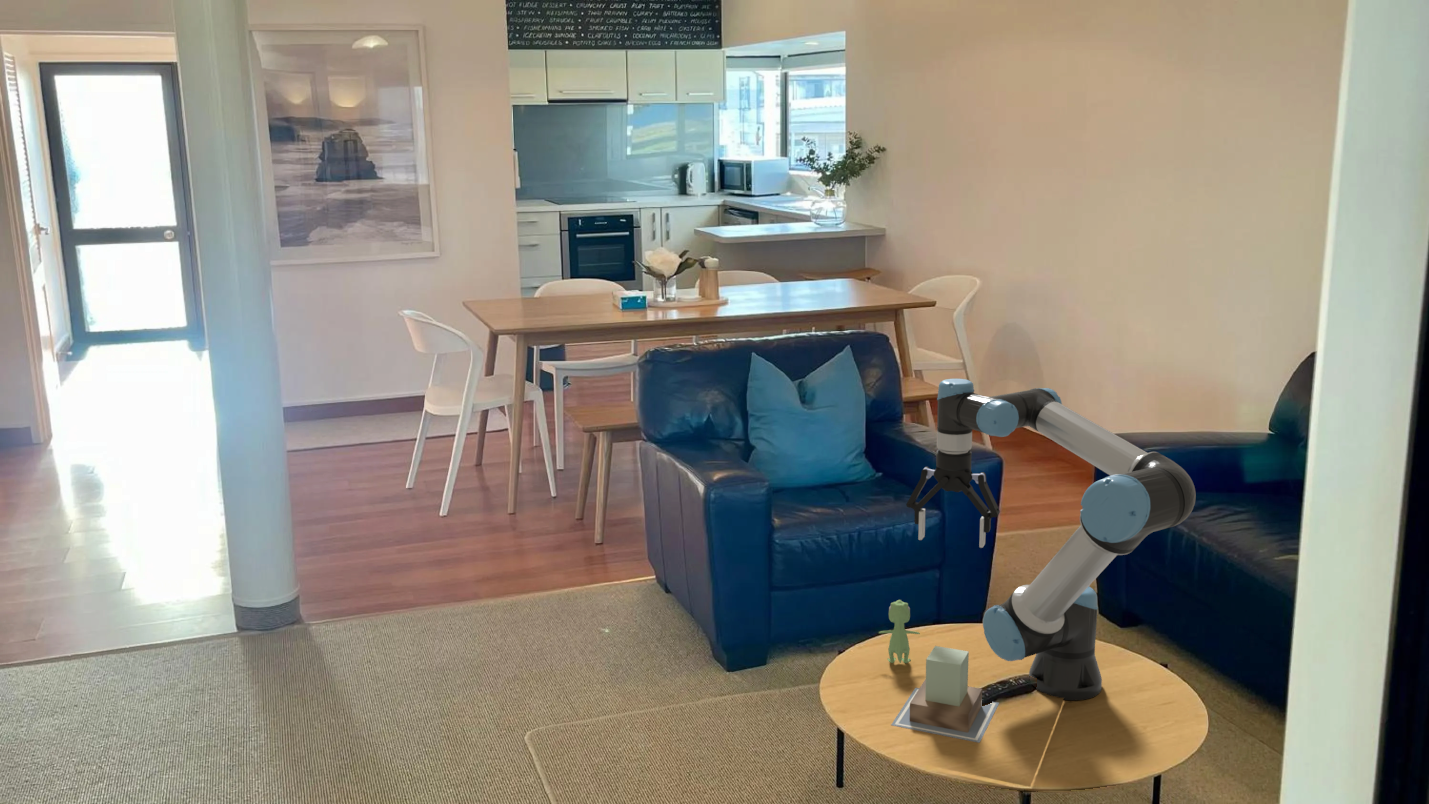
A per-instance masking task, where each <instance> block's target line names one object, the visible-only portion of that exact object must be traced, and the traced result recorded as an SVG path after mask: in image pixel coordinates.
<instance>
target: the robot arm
mask: <svg viewBox="0 0 1429 804" xmlns="http://www.w3.org/2000/svg"><path fill="white" fill-rule="evenodd" d="M937 389H938V391H937V397H936V401H937V413H936V414H937V419H936V420H937V421H936V422H937V424H936V425H937V426H936V427H937V428H936V448H937V450H936V455H935V456H936V458H935V459H936V461H935V463H936V465H935V469H931V468H930V467H929V466H925V467H924V468H923V469H922V470H921V473H920V479H919V480H918V483H917V484H916V486H915V488H914V489H913V491H912V493H911V495H910V497H909V498H908V500H907V502H906V504H905V505H906V508H909V509H910V508H911V509H912V510H914V511H913V512H914V518H913V519H914V522H913V523H914V524H915V525H918V533H917V534H918V536H917V537H918V538H917V539H918V540H919V541H922V540H923V539H924V538H925V537H926V536H925V535H926V508H923V507H924V506H925V505H926V504H927V503H928V502H929V501H930V500H931V499H932V498H933V497H934V496H935V495H936V494H937V493H938V492H939V491H940V490H941V489H942V490H944V491H945V492H954V493H960V492H963V494H964V495H965V496H967V498H968V499H969V500H970V502H971V503H972V504H973V506H974V507H975V508H976V510H977V511H978V512H979V514H981V517H980V519H979V544H978V545H979V546H978V547H979V548H980V549H982V548H984V546H985V545H986V535H987V534H988V533H989V532H990V530H991V527H992V525H991V524H992V523H991V521H992V518H997V517H998V516H999V515H1000V512H1001V511H1000V509H999V506H998V504H997V502H996V499H995V498H994V495H993V494H992V491H991V489H990V487H989V485H988V482H987V475H986V473H985V472H980V473H973V472H972V451H971V449H972V447H973V430H974V431H977V432H980V433H983V434H985V435H988V436H991V437H998V438H1003V437H1008V436H1010V434H1012V433H1013V432H1014V431H1015V430H1016V429H1019V428H1024V427H1029V428H1031V429H1033V430H1034V431H1037V432H1038V433H1040V434H1042V435H1043V436H1045V437H1046V438H1048V439H1049V440H1052V441H1053V442H1054V443H1056V444H1057V445H1060V447H1061V446H1062V447H1063V448H1064V449H1066V450H1067V451H1069V452H1071V453H1072V454H1074V455H1076V456H1078V457H1079V458H1081V459H1082V460H1084V461H1086V462H1088V464H1090V465H1092V466H1094V467H1096V468H1097V469H1099V470H1100V471H1102V472H1103V473H1105V474H1107V475H1108V476H1105V477H1103V478H1102V479H1099V480H1097V481H1095V482H1093V483H1092V484H1090V486H1088V487H1087V489H1086V490H1085V491H1084V492H1083V493H1084V494H1082V495H1083V496H1081V497H1082V498H1081V500H1080V506H1082V507H1081V508H1082V509H1080V510H1079V512H1080V513H1079V514H1080V515H1079V524H1080V525H1079V527H1078V528H1077V529H1075V531H1074V532H1073V533H1072V534H1071V536H1070V537H1069V538H1068V539H1067V540H1066V542H1065V543H1064V544H1063V545H1062V546H1061V548H1060V549H1059V550H1058V551H1057V552H1056V554H1055V555H1054V556H1053V557H1052V558H1051V560H1050V561H1049V562H1048V563H1047V564H1046V566H1044V568H1043V569H1042V570H1040V572H1039V573H1038V574H1037V575H1036V577H1035V579H1034V580H1032V582H1031V583H1030V584H1023V585H1021V586H1018V587H1017V588H1016V589H1015V590H1014V591H1013V592H1012V593H1011V594H1010V596H1009V597H1008V598H1007V599H1006V600H1005V601H1004V602H1003V603H1001V604H995V605H993V606H991V607H989V608H988V609H987V610H986V611H985V613H984V615H983V618H982V626H983V633H984V637H985V639H986V642H987V644H988V646H989V648H990V649H991V650H992V652H993V653H994V654H995V655H996V656H997V657H999V658H1001V659H1002V660H1004V661H1007V662H1014V661H1022V660H1024V659H1025V658H1028V657H1031V656H1034V659H1033V661H1032V664H1031V666H1030V669H1029V673H1028V677H1029V676H1032V677H1034V678H1037V687H1036V689H1035V690H1037V691H1038V692H1040V693H1043V694H1045V695H1047V696H1048V695H1049V696H1051V697H1056V698H1060V699H1061V698H1062V699H1063V700H1065V701H1082V700H1088V699H1091V698H1094V697H1096V696H1098V695H1099V694H1100V693H1101V691H1102V683H1103V682H1102V681H1103V680H1102V674H1101V671H1100V667H1099V665H1098V660H1097V657H1096V654H1095V652H1096V651H1095V650H1096V637H1097V636H1096V635H1097V622H1098V610H1099V607H1098V594H1097V591H1095V590H1094V589H1093V588H1092V587H1091V585H1092V584H1093V582H1094V581H1095V580H1096V579H1097V578H1098V577H1099V576H1100V574H1101V573H1102V572H1104V570H1105V569H1107V567H1108V566H1109V564H1111V562H1113V560H1114V559H1115V558H1116V557H1117V556H1123V555H1124V556H1125V555H1128V554H1130V553H1132V552H1133V551H1134V550H1135V549H1136V548H1137V547H1138V546H1139V545H1140V544H1141V542H1142V541H1144V539H1145V538H1146V537H1148V535H1151V534H1152V533H1153V532H1158V531H1161V530H1165V529H1169V528H1172V527H1173V528H1174V527H1175V526H1177V525H1180V524H1181V523H1183V522H1184V521H1185V520H1186V519H1188V517H1189V516H1190V515H1191V513H1192V511H1193V510H1194V508H1195V507H1194V506H1195V505H1196V497H1197V496H1196V488H1195V485H1194V482H1193V480H1192V478H1191V476H1190V475H1189V474H1188V472H1187V471H1186V470H1185V469H1184V468H1183V467H1182V466H1180V465H1179V464H1178V463H1176V462H1175V461H1174V460H1172V459H1171V458H1169V457H1166V456H1165V455H1164V454H1161V453H1160V452H1158V451H1149V452H1147V451H1145V450H1143V449H1141V448H1140V447H1138V446H1136V445H1135V444H1133V443H1131V442H1129V441H1128V440H1126V439H1124V438H1122V437H1121V436H1118V435H1117V434H1115V433H1113V432H1111V431H1110V430H1108V429H1106V428H1104V427H1103V426H1100V425H1099V424H1097V423H1096V422H1094V421H1092V420H1090V419H1088V418H1086V416H1083V415H1082V414H1080V413H1078V412H1076V411H1074V410H1072V409H1070V408H1069V407H1068V406H1065V405H1063V403H1062V399H1061V397H1060V396H1059V395H1058V393H1057V392H1056V391H1055V390H1054V389H1051V388H1048V387H1044V388H1043V387H1042V388H1039V387H1038V388H1031V389H1028V390H1023V391H1017V392H1011V393H1004V394H997V395H993V396H986V395H981V394H978V393H975V389H974V383H973V381H971V380H969V379H965V378H947V379H943V380H941V381H940V382H939V384H938V388H937ZM932 476H933V477H934V479H935V480H936V481H937V483H936V484H935V485H934V486H933V488H931V489H930V490H929V492H927V493H926V495H924V497H923V498H922V499H921V500H920V501H919V502H917V501H916V500H917V499H918V498H919V495H920V494H921V491H922V490H923V488H924V487H925V485H926V484H927V481H928V480H929V479H931V478H932ZM973 480H974V481H975V483H976V484H977V485H978V488H979V490H980V493H981V495H982V496H983V499H984V501H985V503H986V504H985V503H984V501H983V499H981V497H980V496H979V494H978V493H977V492H976V490H974V487H973V486H972V484H971V483H970V482H971V481H973ZM986 533H987V534H986Z"/></svg>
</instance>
